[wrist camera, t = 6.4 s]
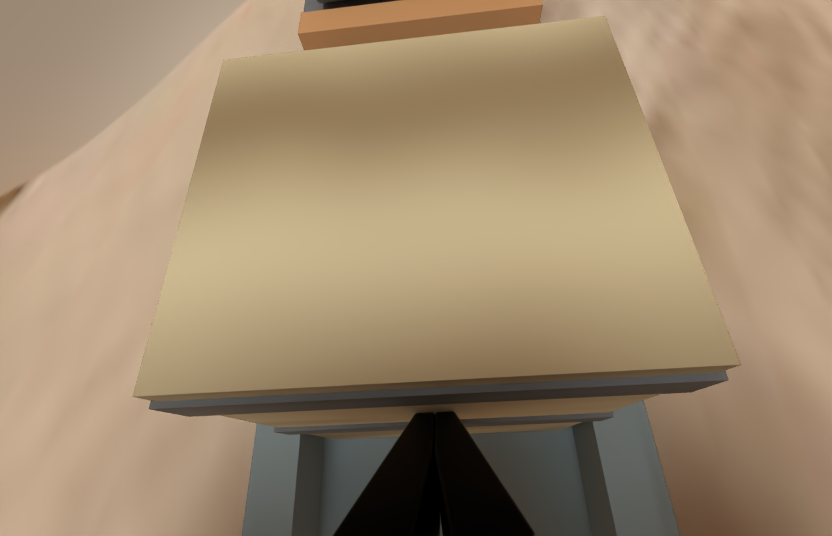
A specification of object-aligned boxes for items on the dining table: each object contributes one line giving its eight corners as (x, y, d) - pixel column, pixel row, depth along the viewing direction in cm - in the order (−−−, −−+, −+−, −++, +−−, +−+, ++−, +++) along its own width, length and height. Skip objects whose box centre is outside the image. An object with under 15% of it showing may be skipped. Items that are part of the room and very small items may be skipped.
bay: (715, 594, 12) (1330, 904, 4) (241, 600, 13) (-162, 848, 5) (545, 7, 25) (590, -232, 16) (312, 35, 26) (240, -176, 18)
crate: (564, 432, 14) (752, 372, 5) (331, 442, 14) (123, 404, 6) (530, 249, 17) (608, 12, 8) (341, 263, 18) (219, 57, 9)
